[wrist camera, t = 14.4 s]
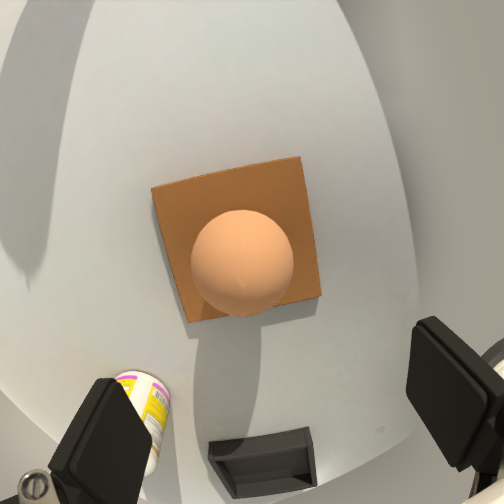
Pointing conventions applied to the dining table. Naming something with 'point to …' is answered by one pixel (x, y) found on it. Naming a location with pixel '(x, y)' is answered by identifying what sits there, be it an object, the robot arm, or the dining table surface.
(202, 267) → the egg
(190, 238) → the plate
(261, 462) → the tray
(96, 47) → the dining table surface
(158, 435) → the supplement bottle
